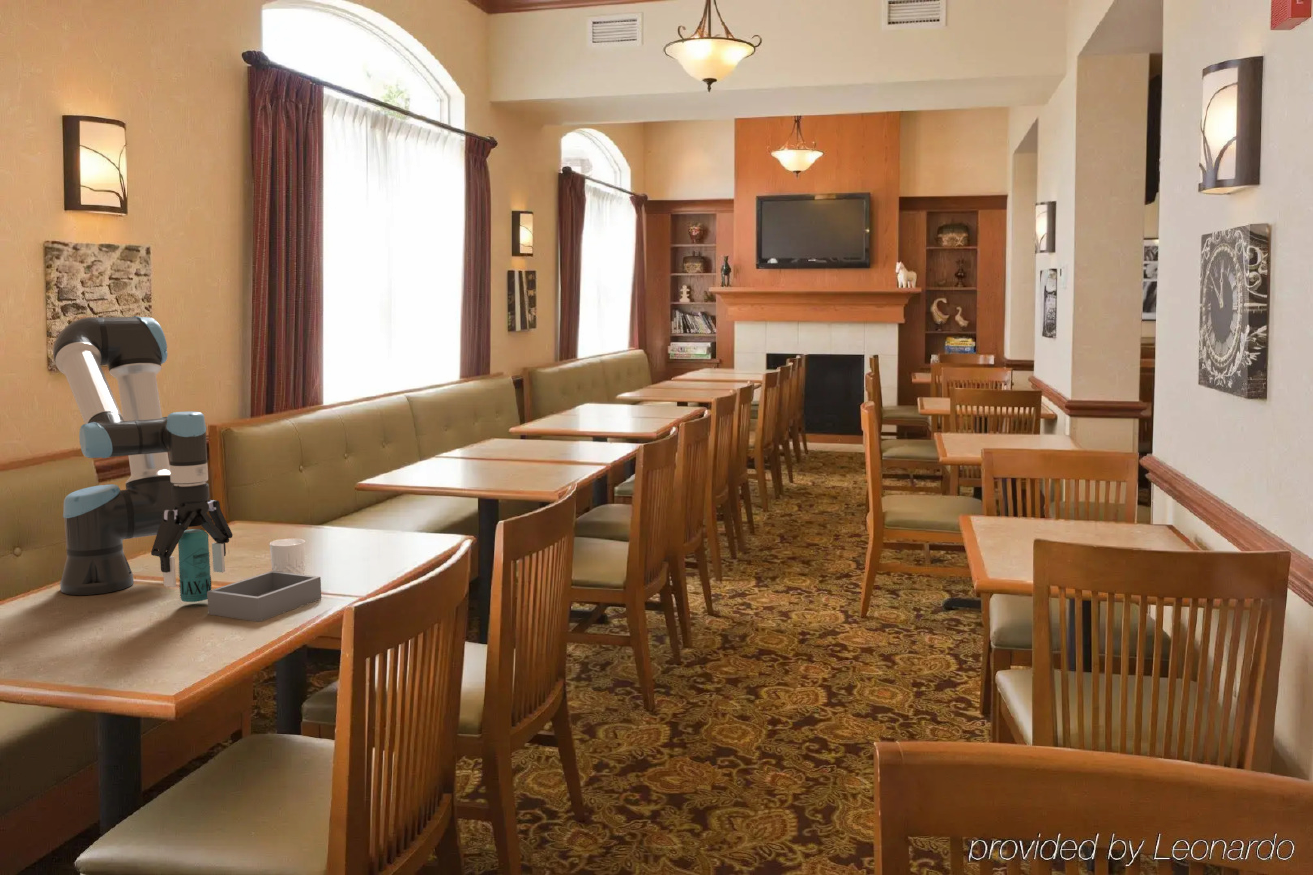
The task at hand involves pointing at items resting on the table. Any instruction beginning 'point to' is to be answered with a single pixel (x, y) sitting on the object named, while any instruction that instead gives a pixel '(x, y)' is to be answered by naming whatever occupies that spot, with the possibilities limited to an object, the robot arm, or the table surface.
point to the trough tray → (264, 595)
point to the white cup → (288, 555)
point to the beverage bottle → (194, 563)
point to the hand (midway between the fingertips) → (195, 579)
